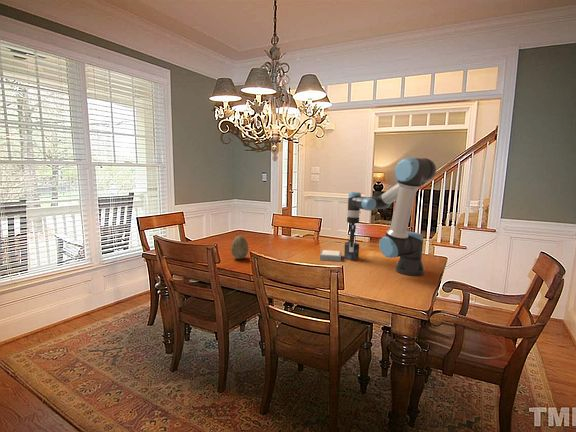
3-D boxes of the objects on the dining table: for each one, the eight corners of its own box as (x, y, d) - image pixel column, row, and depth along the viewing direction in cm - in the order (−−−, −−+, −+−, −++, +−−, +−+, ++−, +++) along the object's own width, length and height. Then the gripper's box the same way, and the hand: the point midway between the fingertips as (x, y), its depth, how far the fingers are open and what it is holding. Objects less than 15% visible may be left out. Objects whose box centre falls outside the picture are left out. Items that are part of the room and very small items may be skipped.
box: (358, 259, 213) (359, 243, 211) (351, 261, 210) (352, 244, 209) (350, 256, 220) (351, 241, 218) (343, 257, 217) (344, 242, 215)
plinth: (340, 261, 209) (340, 256, 208) (319, 259, 211) (320, 254, 211) (341, 255, 222) (341, 250, 221) (321, 254, 224) (321, 249, 223)
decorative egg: (251, 259, 210) (251, 236, 207) (236, 262, 203) (236, 238, 200) (242, 255, 218) (242, 233, 215) (227, 258, 211) (227, 235, 209)
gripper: (359, 220, 198) (357, 254, 202) (359, 213, 222) (356, 244, 226) (346, 219, 199) (344, 253, 203) (347, 213, 223) (345, 243, 227)
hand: (351, 249), depth 214 cm, fingers open, 13 cm apart
